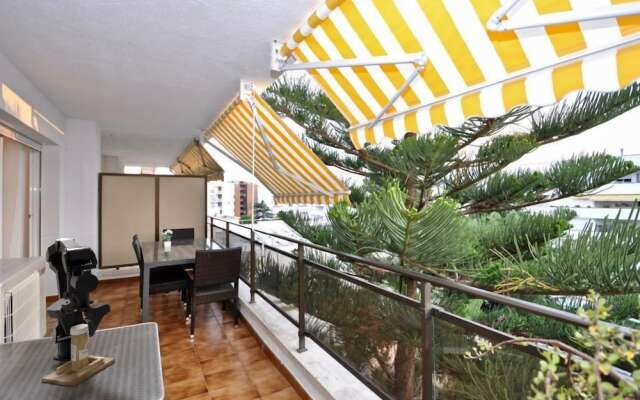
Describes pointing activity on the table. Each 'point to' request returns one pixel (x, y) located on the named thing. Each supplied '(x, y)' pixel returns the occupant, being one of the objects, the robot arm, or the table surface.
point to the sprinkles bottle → (79, 346)
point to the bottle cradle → (73, 378)
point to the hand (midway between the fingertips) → (79, 335)
